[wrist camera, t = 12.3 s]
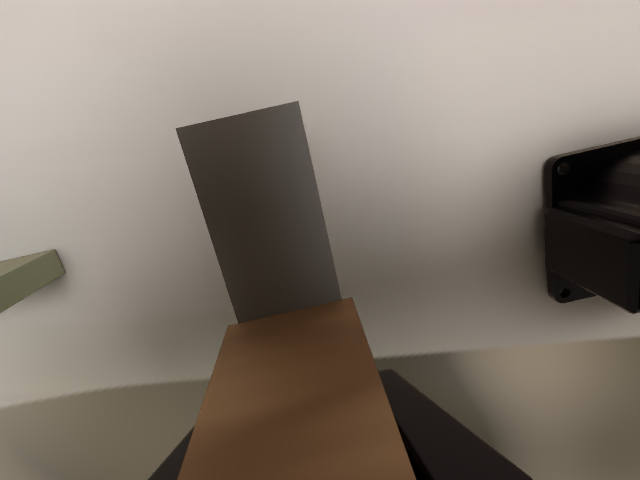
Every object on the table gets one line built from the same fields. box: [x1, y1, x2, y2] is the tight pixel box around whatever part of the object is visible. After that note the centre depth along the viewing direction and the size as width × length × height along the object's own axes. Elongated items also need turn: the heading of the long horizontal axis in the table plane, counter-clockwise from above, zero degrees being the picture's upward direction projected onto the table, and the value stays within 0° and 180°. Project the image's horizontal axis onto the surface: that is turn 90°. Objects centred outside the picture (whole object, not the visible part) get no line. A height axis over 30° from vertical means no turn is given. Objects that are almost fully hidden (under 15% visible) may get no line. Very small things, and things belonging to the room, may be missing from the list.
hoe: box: [176, 101, 416, 480], centre depth 8 cm, size 3×12×9 cm, turn 12°
